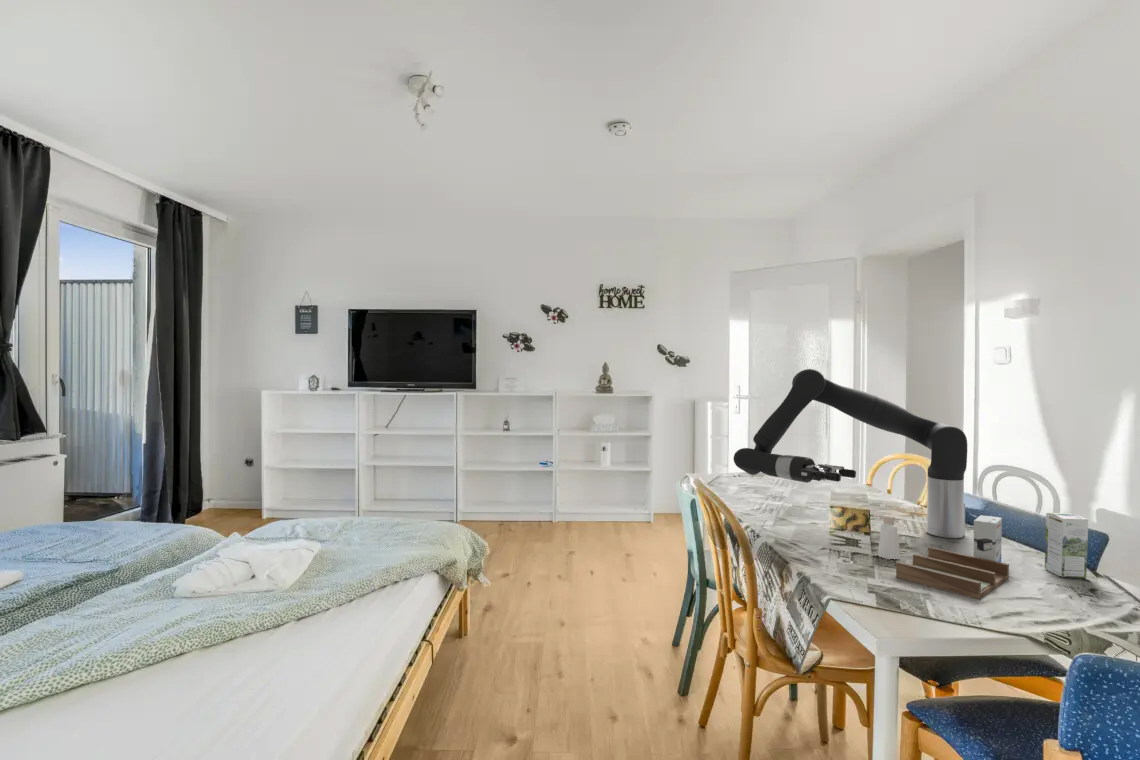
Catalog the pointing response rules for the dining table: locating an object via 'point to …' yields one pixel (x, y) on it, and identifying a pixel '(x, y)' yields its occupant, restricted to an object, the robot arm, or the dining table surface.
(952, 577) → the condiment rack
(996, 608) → the dining table surface
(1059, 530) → the syrup box
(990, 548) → the ink box
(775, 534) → the dining table surface
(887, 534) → the salt shaker
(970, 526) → the dining table surface
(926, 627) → the dining table surface
